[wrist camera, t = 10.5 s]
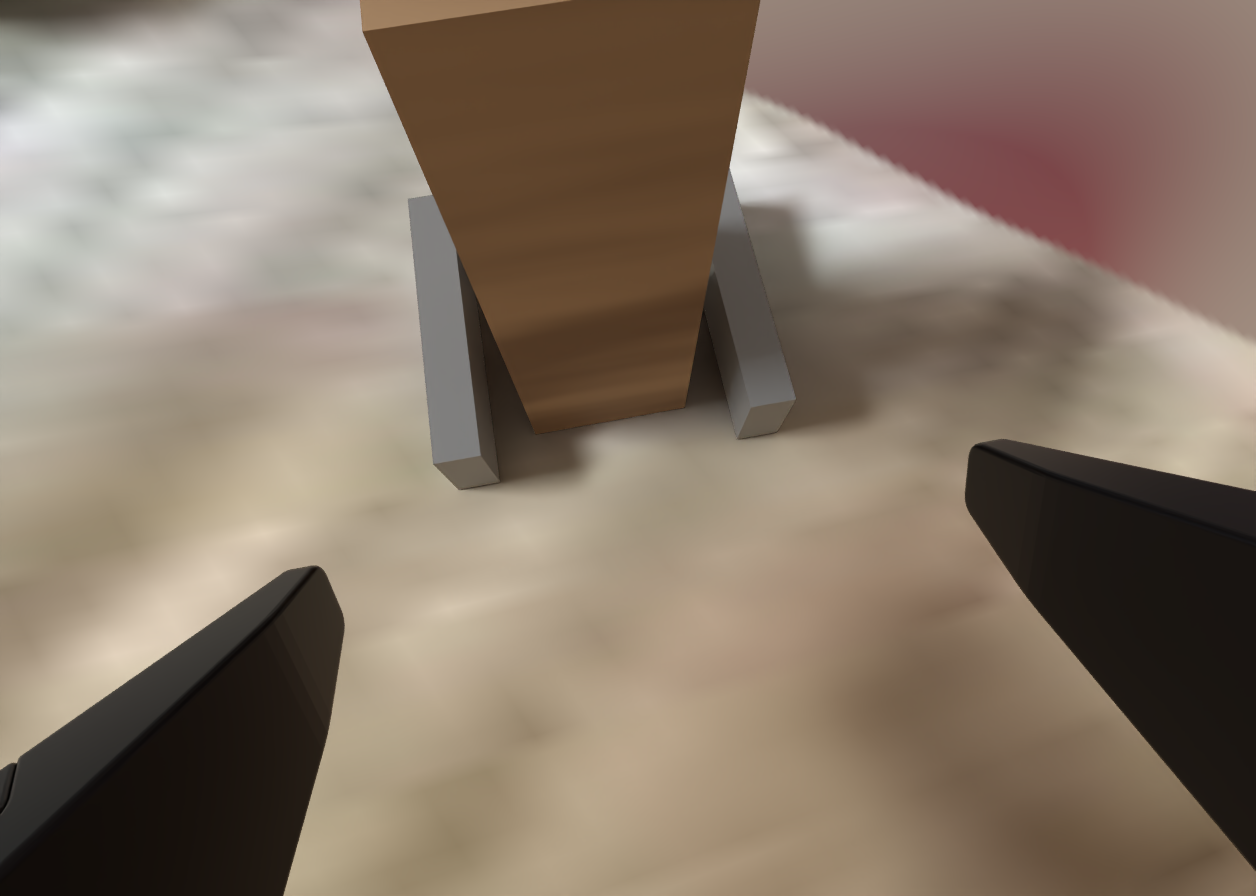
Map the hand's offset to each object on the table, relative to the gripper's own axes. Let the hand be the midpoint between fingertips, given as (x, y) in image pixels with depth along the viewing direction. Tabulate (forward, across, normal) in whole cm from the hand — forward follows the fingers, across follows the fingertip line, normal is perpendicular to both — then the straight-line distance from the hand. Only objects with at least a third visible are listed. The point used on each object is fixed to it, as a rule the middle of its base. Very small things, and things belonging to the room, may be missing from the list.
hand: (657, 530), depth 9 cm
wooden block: (+12, 0, +1) cm, 12 cm away
